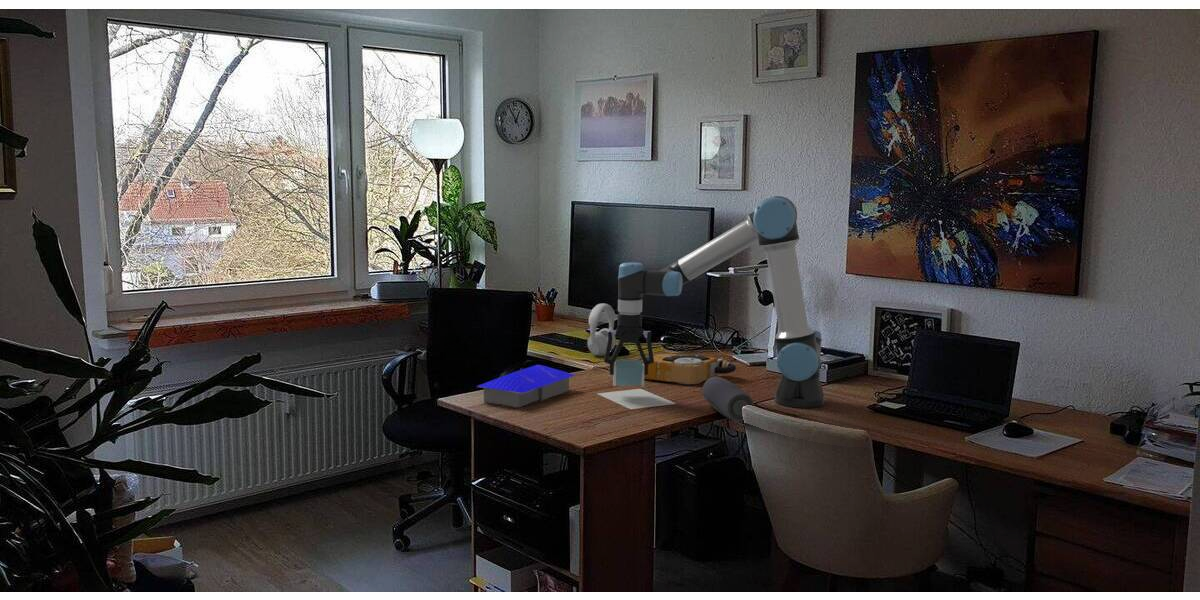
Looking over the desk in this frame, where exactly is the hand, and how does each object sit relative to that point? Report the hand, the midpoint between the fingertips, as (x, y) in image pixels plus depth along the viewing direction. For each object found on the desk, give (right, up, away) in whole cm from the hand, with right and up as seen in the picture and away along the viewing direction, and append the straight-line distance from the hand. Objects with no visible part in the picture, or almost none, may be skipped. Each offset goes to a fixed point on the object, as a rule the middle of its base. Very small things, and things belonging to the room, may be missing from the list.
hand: (628, 384), depth 304 cm
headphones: (-8, +5, +72) cm, 73 cm away
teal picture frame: (0, +1, +5) cm, 5 cm away
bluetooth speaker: (+29, -8, -17) cm, 34 cm away
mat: (+2, -5, +1) cm, 5 cm away
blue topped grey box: (-32, -4, +5) cm, 32 cm away
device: (+21, -1, +32) cm, 38 cm away
